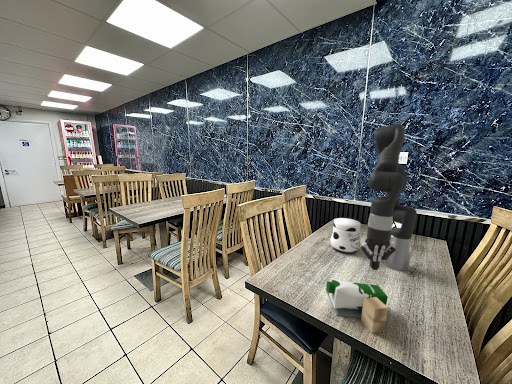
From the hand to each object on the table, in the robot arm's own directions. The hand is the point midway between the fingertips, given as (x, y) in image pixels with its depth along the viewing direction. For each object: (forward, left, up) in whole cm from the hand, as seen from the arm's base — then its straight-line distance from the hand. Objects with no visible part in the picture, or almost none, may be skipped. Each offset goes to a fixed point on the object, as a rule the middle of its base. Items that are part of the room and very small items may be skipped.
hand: (373, 268), depth 76 cm
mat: (+7, 0, -15) cm, 17 cm away
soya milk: (-3, +3, -11) cm, 11 cm away
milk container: (-8, -49, -15) cm, 52 cm away
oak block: (+4, +11, -15) cm, 19 cm away
